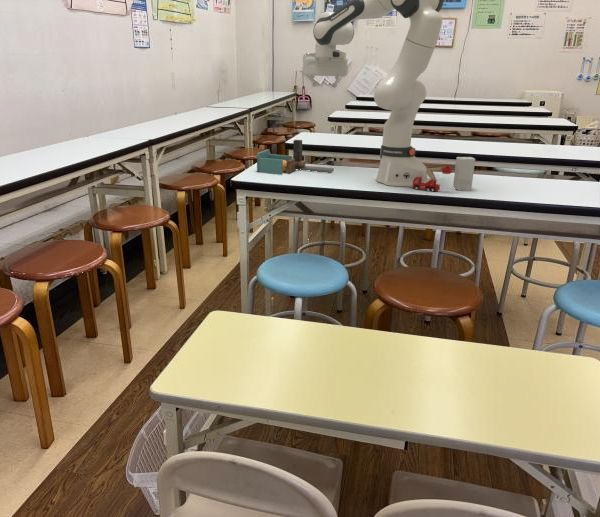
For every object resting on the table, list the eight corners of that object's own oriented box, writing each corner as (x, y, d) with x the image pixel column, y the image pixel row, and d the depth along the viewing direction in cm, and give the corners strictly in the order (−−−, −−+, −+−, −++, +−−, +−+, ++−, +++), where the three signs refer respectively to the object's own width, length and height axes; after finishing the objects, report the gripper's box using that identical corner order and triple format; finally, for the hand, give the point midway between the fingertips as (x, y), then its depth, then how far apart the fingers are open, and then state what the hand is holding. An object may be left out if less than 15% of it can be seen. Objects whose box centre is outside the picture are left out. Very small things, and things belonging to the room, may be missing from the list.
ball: (278, 164, 222) (286, 172, 222) (273, 166, 217) (281, 175, 217) (284, 156, 219) (293, 164, 219) (280, 158, 215) (288, 166, 215)
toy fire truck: (413, 187, 196) (416, 162, 192) (449, 192, 190) (452, 166, 186) (411, 189, 193) (413, 164, 189) (447, 193, 187) (450, 167, 183)
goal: (291, 169, 223) (291, 151, 220) (281, 174, 214) (281, 155, 211) (267, 167, 227) (267, 149, 224) (257, 172, 218) (256, 153, 215)
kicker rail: (333, 171, 222) (333, 168, 221) (330, 173, 217) (330, 170, 217) (297, 167, 227) (297, 165, 227) (293, 169, 223) (293, 167, 223)
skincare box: (467, 187, 196) (472, 156, 192) (471, 190, 192) (476, 158, 187) (452, 187, 196) (456, 156, 191) (455, 190, 192) (459, 158, 187)
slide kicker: (305, 167, 226) (305, 140, 221) (294, 173, 214) (295, 144, 210) (292, 166, 228) (293, 139, 223) (281, 172, 216) (281, 143, 212)
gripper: (300, 52, 220) (299, 86, 225) (345, 53, 213) (344, 88, 218) (305, 53, 225) (304, 85, 230) (349, 53, 219) (348, 87, 224)
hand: (324, 86), depth 224 cm, fingers open, 8 cm apart
